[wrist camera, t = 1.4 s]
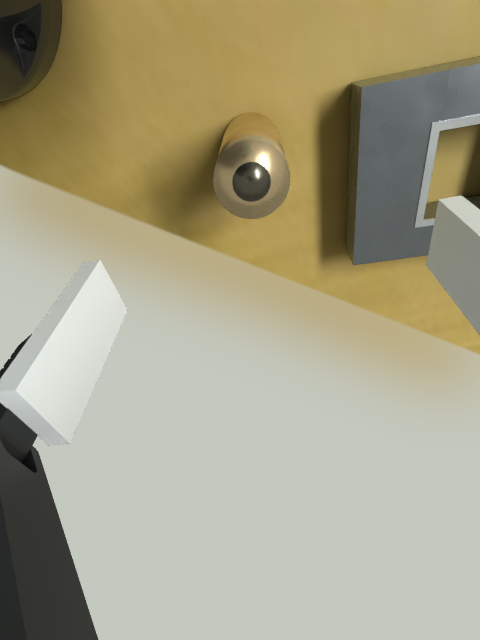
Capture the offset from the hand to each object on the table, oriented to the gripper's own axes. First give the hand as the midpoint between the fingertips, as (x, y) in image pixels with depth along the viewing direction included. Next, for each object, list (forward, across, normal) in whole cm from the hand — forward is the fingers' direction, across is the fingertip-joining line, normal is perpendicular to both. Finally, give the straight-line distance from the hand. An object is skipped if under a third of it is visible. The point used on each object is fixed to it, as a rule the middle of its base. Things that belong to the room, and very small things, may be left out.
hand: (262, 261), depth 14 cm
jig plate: (+19, +16, -4) cm, 25 cm away
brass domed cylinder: (+19, 0, 0) cm, 19 cm away
